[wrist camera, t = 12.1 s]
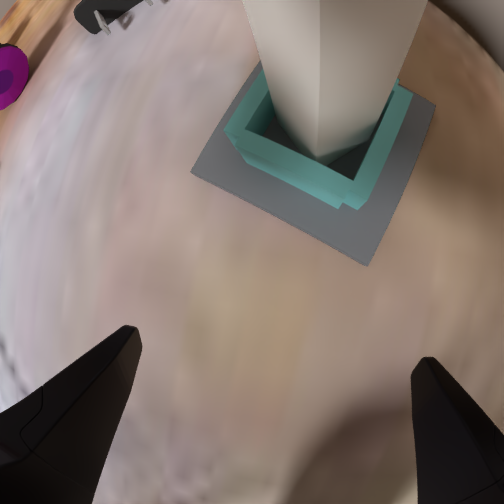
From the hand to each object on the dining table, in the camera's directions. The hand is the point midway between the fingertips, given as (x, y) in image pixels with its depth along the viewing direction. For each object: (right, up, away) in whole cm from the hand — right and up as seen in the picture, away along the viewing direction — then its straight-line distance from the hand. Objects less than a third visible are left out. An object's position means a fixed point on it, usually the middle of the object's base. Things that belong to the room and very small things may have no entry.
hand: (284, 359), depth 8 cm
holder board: (+3, +10, +9) cm, 14 cm away
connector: (+3, +10, +8) cm, 14 cm away
